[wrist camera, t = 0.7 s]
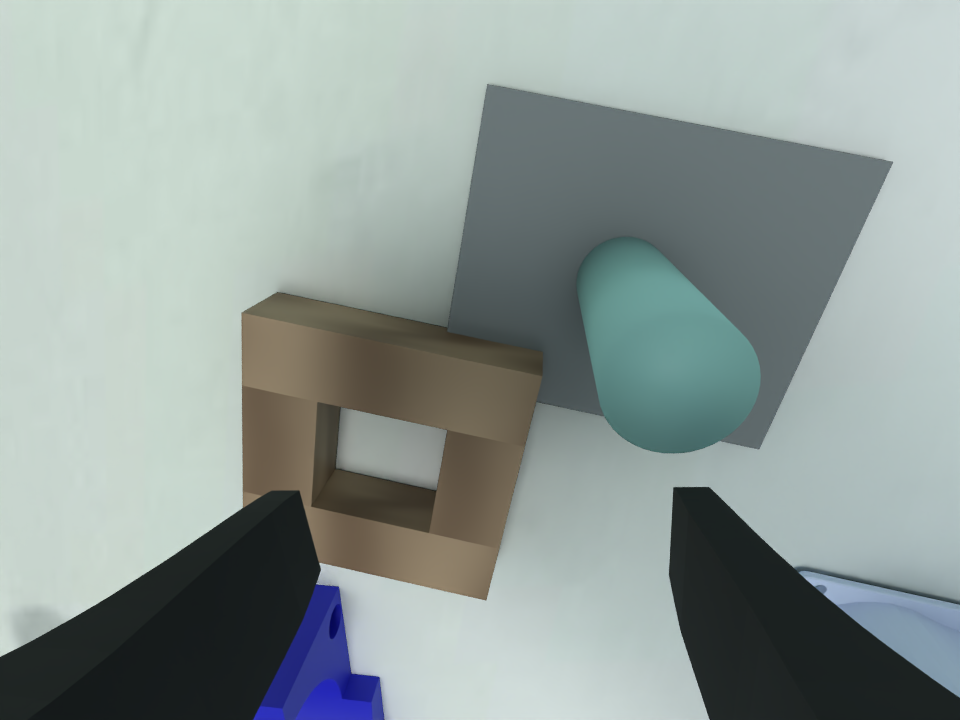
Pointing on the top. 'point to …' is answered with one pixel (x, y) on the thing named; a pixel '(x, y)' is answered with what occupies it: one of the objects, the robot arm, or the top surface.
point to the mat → (651, 231)
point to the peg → (662, 351)
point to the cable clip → (321, 671)
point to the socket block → (396, 394)
